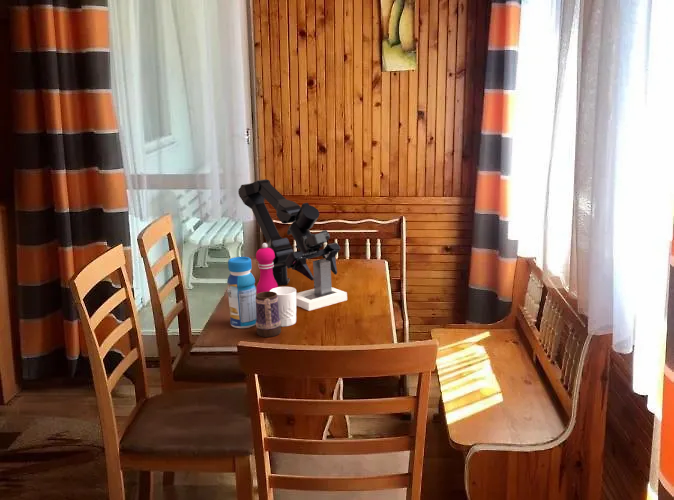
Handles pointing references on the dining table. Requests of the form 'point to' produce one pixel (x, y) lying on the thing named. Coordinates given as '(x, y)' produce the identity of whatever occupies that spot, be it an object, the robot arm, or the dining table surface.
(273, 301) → the mug
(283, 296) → the white cup
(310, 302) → the block
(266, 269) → the pepper mill
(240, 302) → the beverage bottle
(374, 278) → the dining table surface
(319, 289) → the grey block
